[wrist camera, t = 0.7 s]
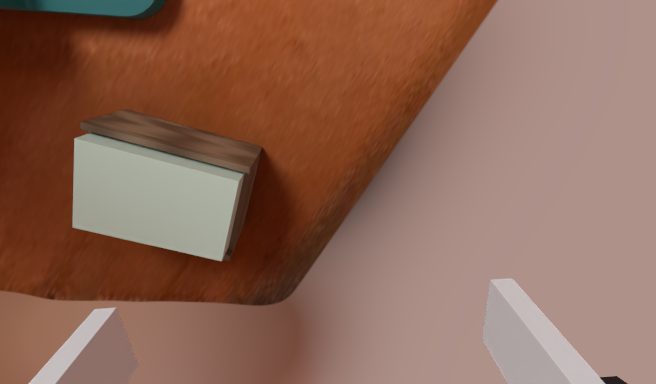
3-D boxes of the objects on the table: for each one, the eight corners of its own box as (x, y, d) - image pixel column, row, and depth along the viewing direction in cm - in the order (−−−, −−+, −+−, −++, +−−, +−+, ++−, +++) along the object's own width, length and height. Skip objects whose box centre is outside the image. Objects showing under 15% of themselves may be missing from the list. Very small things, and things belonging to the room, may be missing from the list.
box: (119, 197, 37) (77, 226, 31) (125, 109, 34) (80, 121, 27) (243, 227, 39) (229, 261, 33) (262, 147, 36) (250, 167, 29)
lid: (90, 214, 31) (72, 227, 29) (94, 131, 29) (74, 138, 26) (228, 247, 33) (221, 261, 31) (244, 171, 30) (239, 181, 28)
